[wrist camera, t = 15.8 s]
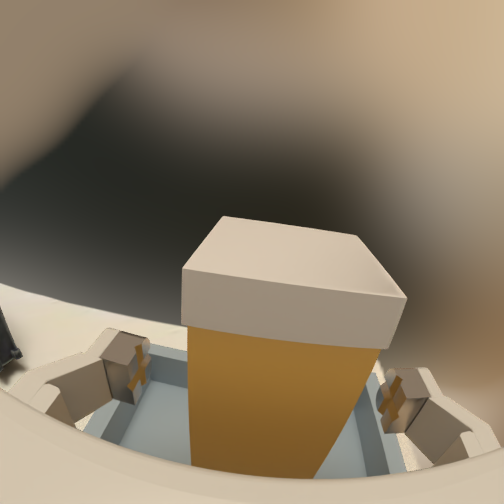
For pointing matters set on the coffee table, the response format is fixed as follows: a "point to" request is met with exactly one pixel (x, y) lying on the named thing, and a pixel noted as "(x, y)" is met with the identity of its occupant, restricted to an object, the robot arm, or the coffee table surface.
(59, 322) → the coffee table surface
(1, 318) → the gun
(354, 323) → the block
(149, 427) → the parts tray
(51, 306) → the coffee table surface
